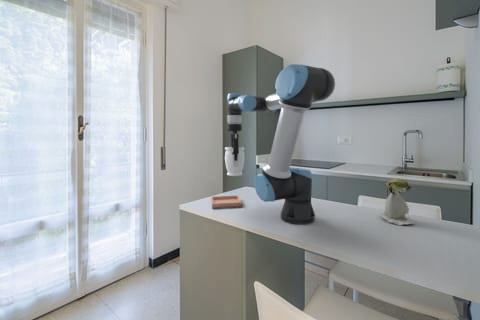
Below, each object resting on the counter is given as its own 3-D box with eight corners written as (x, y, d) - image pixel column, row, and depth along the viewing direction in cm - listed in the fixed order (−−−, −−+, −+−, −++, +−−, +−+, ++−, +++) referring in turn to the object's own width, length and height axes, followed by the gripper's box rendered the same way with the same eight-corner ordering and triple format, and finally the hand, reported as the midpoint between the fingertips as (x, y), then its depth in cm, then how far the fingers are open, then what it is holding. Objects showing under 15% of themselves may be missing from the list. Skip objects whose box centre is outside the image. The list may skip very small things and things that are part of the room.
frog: (384, 224, 105) (386, 181, 103) (377, 214, 117) (379, 176, 115) (417, 227, 101) (420, 183, 99) (406, 216, 113) (409, 177, 111)
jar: (222, 175, 131) (221, 147, 129) (229, 172, 141) (228, 146, 139) (240, 177, 128) (241, 148, 126) (246, 173, 138) (247, 146, 136)
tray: (241, 206, 131) (241, 202, 131) (212, 208, 129) (212, 203, 128) (238, 199, 145) (238, 195, 145) (211, 200, 143) (211, 196, 143)
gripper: (244, 123, 120) (244, 168, 123) (239, 123, 143) (239, 161, 146) (229, 123, 119) (229, 168, 122) (226, 123, 142) (226, 162, 145)
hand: (234, 165), depth 134 cm, fingers closed on jar, 10 cm apart
